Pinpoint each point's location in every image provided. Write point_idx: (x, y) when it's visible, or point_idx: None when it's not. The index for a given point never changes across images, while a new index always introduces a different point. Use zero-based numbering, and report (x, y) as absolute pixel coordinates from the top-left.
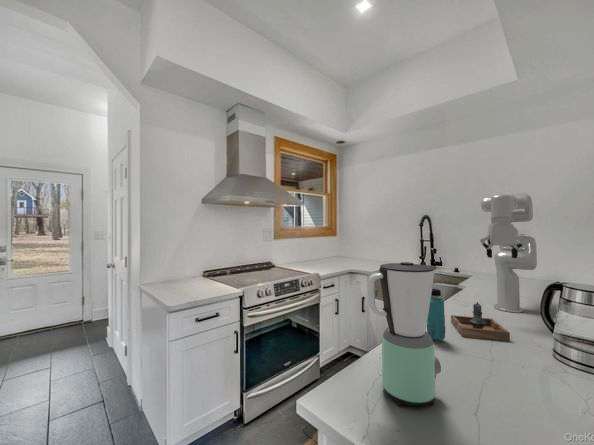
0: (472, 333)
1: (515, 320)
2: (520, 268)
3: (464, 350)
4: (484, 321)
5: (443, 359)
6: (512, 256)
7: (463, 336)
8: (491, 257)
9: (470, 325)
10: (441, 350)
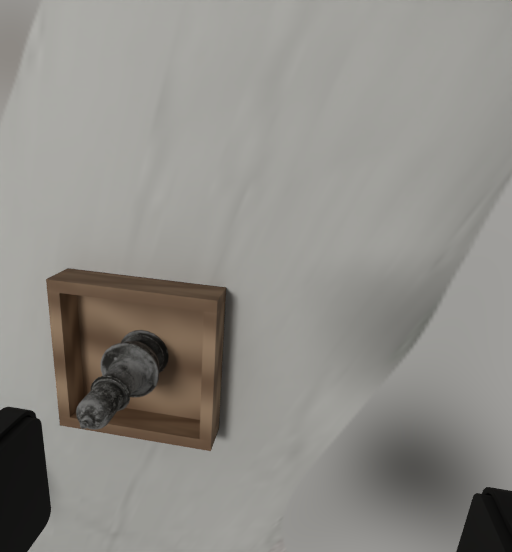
0: None
1: (396, 168)
2: None
3: (64, 492)
4: (155, 370)
5: None
6: (474, 544)
7: None
8: (40, 518)
9: (131, 307)
10: None
